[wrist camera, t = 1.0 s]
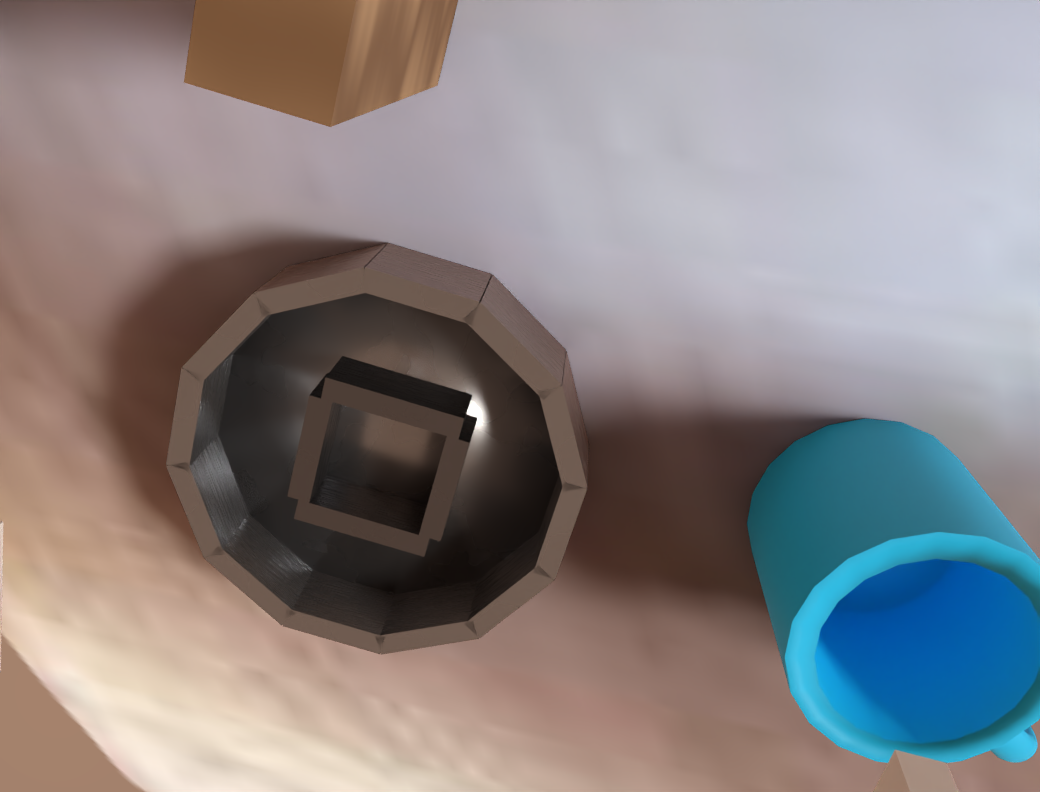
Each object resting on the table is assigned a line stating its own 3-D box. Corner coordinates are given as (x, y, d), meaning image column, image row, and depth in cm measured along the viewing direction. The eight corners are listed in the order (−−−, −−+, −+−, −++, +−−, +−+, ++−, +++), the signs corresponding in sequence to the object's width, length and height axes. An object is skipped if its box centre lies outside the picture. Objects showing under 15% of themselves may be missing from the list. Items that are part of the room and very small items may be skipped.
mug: (702, 503, 36) (728, 632, 28) (893, 374, 33) (977, 477, 26) (883, 712, 38) (951, 882, 31) (1072, 607, 36) (1195, 763, 29)
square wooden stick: (368, -41, 30) (207, -81, 18) (460, -12, 30) (362, -33, 18) (348, 58, 31) (183, 82, 19) (437, 85, 31) (330, 126, 19)
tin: (244, 199, 33) (205, 219, 30) (633, 316, 33) (636, 348, 30) (185, 538, 38) (146, 586, 35) (522, 636, 39) (515, 693, 35)
